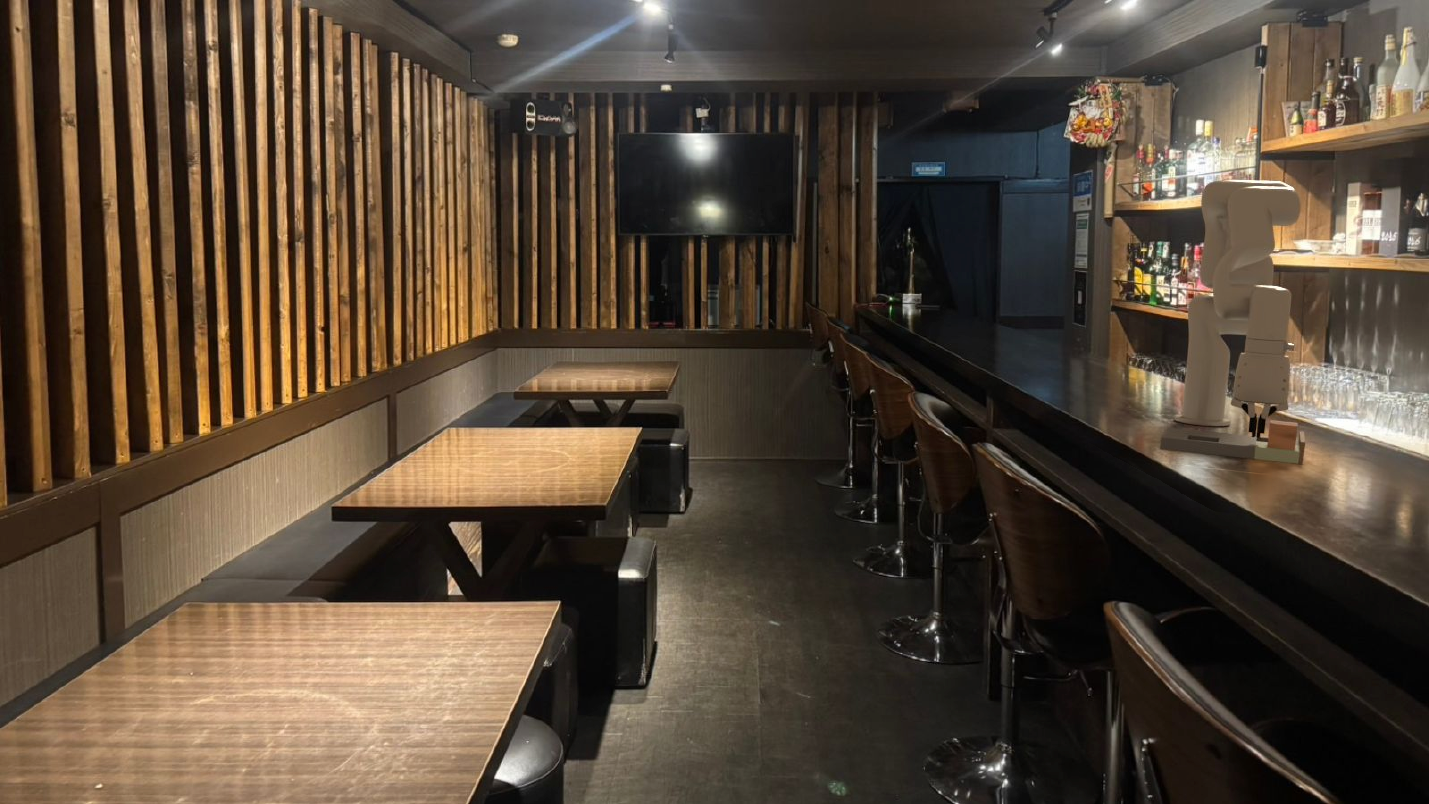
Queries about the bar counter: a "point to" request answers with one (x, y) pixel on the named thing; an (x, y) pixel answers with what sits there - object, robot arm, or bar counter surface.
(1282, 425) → the block
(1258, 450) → the deck
